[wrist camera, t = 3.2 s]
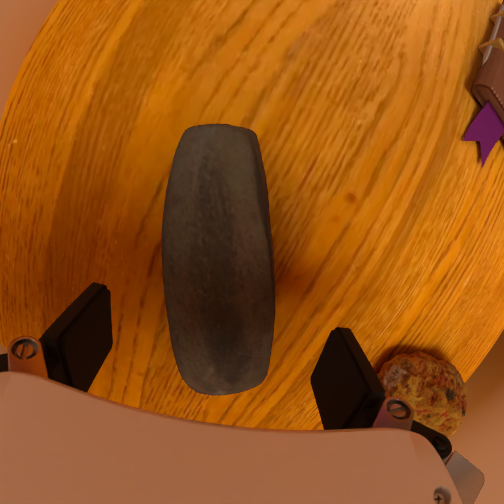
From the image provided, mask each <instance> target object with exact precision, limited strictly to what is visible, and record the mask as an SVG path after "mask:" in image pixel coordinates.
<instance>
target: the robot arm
mask: <svg viewBox="0 0 504 504" xmlns="http://www.w3.org/2000/svg"><path fill="white" fill-rule="evenodd" d="M112 344H113V338H112V323H111V297H110V290H108V289H107V286H106V285H103V284H99V283H95V282H93V283H92V284H91V285H90V286H89V287H88V288H87V289H86V290H85V291H84V292H83V293H82V294H81V295H80V296H79V297H78V298H77V299H76V300H75V301H74V302H73V303H72V304H71V305H70V306H69V307H68V308H67V309H66V310H65V311H64V312H63V313H62V314H61V315H60V316H59V317H58V318H57V319H56V320H55V322H54V323H53V324H52V325H51V326H50V327H49V328H48V329H47V330H46V331H45V332H44V334H43V335H42V337H41V338H40V339H39V340H38V339H36V338H34V337H32V336H21V337H17V338H15V339H14V340H13V341H11V342H10V344H9V346H8V353H6V354H1V355H0V504H474V502H475V500H476V498H477V496H478V494H479V492H480V490H481V488H482V487H483V484H484V475H483V473H482V472H481V471H480V470H479V469H478V468H477V467H475V466H474V465H473V464H472V463H470V462H469V461H468V460H467V459H465V458H464V457H463V456H462V455H460V454H459V453H458V452H456V451H454V452H453V453H452V452H451V451H452V446H451V443H450V441H449V439H448V438H447V437H446V436H445V435H443V434H441V433H439V432H437V431H435V430H433V429H431V428H429V427H427V426H425V425H423V424H421V423H419V422H417V421H415V420H413V417H414V411H413V408H412V406H411V405H410V404H409V403H408V402H407V401H405V400H404V399H402V398H399V397H388V398H386V397H385V395H384V394H385V393H386V391H385V389H384V387H383V386H382V384H381V382H380V380H379V378H378V376H377V375H376V373H375V371H374V369H373V368H372V366H371V364H370V362H369V361H368V359H367V357H366V355H365V354H364V352H363V350H362V348H361V347H360V345H359V343H358V341H357V340H356V338H355V336H354V335H353V333H352V331H351V330H350V329H349V328H340V327H337V328H336V329H335V330H332V331H331V332H330V335H329V337H328V339H327V342H326V344H325V346H324V349H323V351H322V353H321V355H320V358H319V360H318V362H317V364H316V366H315V369H314V371H313V373H312V375H311V385H312V389H313V392H314V396H315V399H316V403H317V406H318V410H319V413H320V417H321V420H322V424H323V427H324V430H278V429H261V428H248V427H238V426H229V425H221V424H213V423H207V422H200V421H194V420H189V419H183V418H178V417H173V416H169V415H164V414H159V413H155V412H151V411H147V410H143V409H139V408H135V407H132V406H128V405H125V404H121V403H118V402H115V401H111V400H108V399H105V398H102V397H99V396H96V395H93V394H90V393H87V392H88V390H89V388H90V386H91V384H92V382H93V380H94V378H95V377H96V375H97V373H98V371H99V369H100V368H101V366H102V364H103V362H104V360H105V359H106V357H107V355H108V353H109V352H110V350H111V348H112Z"/></svg>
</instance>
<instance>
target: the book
mask: <svg viewBox="0 0 504 504" xmlns="http://www.w3.org/2000/svg"><path fill="white" fill-rule="evenodd" d="M490 20H491V21H492V22H493V23H494V24H495V25H494V28H493V31H492V34H491V37H490V40H489V41H488V42H486V43H483V44H480V45H479V47H478V49H479V50H480V52H481V53H482V54H483V55H484V56H483V63H482V65H481V68H480V70H479V72H478V75H477V77H476V79H475V82H474V84H473V86H472V90H471V92H472V93H473V94H474V96H475V97H476V98H477V100H478V101H479V102H480V104H481V105H482V107H483V108H482V110H481V111H480V112H479V113H478V115H477V116H476V117H475V119H474V120H473V122H472V123H471V124H470V126H469V128H468V130H467V133H466V135H465V137H464V139H463V141H480V149H481V162H482V167H483V165H484V163H485V161H486V159H487V157H488V155H489V153H490V151H491V150H492V148H493V147H494V145H495V143H496V142H497V141H498V140H499V138H500V137H501V136H502V138H503V139H504V0H503V3H502V5H501V7H500V9H499V13H497V14H494V15H492V16H490Z"/></svg>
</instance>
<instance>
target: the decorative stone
mask: <svg viewBox="0 0 504 504" xmlns="http://www.w3.org/2000/svg"><path fill="white" fill-rule="evenodd" d="M162 267H163V283H164V293H165V301H166V309H167V316H168V322H169V331H170V337H171V342H172V347H173V352H174V355H175V359H176V363H177V366H178V369H179V372H180V374H181V376H182V378H183V380H184V381H185V382H186V383H187V385H188V386H189V387H190V388H191V389H193V390H194V391H196V392H198V393H202V394H208V395H228V394H234V393H239V392H242V391H246V390H249V389H251V388H254V387H256V386H257V385H259V384H261V383H262V382H263V380H264V379H265V377H266V376H267V372H268V367H269V363H270V356H271V348H272V341H273V332H274V319H275V276H274V259H273V245H272V236H271V228H270V216H269V201H268V191H267V183H266V176H265V171H264V167H263V162H262V157H261V152H260V148H259V143H258V139H257V135H256V134H255V133H254V132H253V131H252V130H250V129H246V128H242V127H237V126H231V125H228V124H206V125H198V126H193V127H190V128H188V129H187V130H185V132H184V133H183V135H182V137H181V139H180V142H179V144H178V147H177V149H176V152H175V155H174V159H173V163H172V167H171V171H170V175H169V180H168V185H167V190H166V197H165V204H164V212H163V224H162Z"/></svg>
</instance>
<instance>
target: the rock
mask: <svg viewBox="0 0 504 504" xmlns="http://www.w3.org/2000/svg"><path fill="white" fill-rule="evenodd" d="M376 375H377V376H378V378H379V380H380V382H381V384H382V386H383V387H384V389H385V391H386V393H385V394H384V395H385V397H386V398H388V397H399V398H402V399H404V400H405V401H407V402H408V403H409V404H410V405H411V406H412V408H413V411H414V417H413V420H415V421H417V422H419V423H421V424H423V425H425V426H427V427H429V428H431V429H433V430H435V431H437V432H439V433H441V434H443V435H445V436H446V437H448V436H450V435H452V434H453V433H454V432H455V431H456V430H457V429H458V427H459V426H460V424H461V421H462V419H463V417H464V416H465V412H466V407H467V397H466V393H467V387H466V386H465V383H464V382H463V380H462V377H461V375H460V374H459V372H458V371H457V369H456V368H455V366H453V365H452V364H451V363H449V362H448V361H444V360H443V359H441V360H437V359H435V358H434V356H431V355H427V354H424V353H423V352H421V351H416V352H413V353H411V354H409V355H407V354H405V353H402V354H398V355H396V356H395V357H394V358H392V359H391V360H390V361H387V362H385V363H384V364H383V366H382V368H381V370H380V372H379V373H377V374H376Z"/></svg>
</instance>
